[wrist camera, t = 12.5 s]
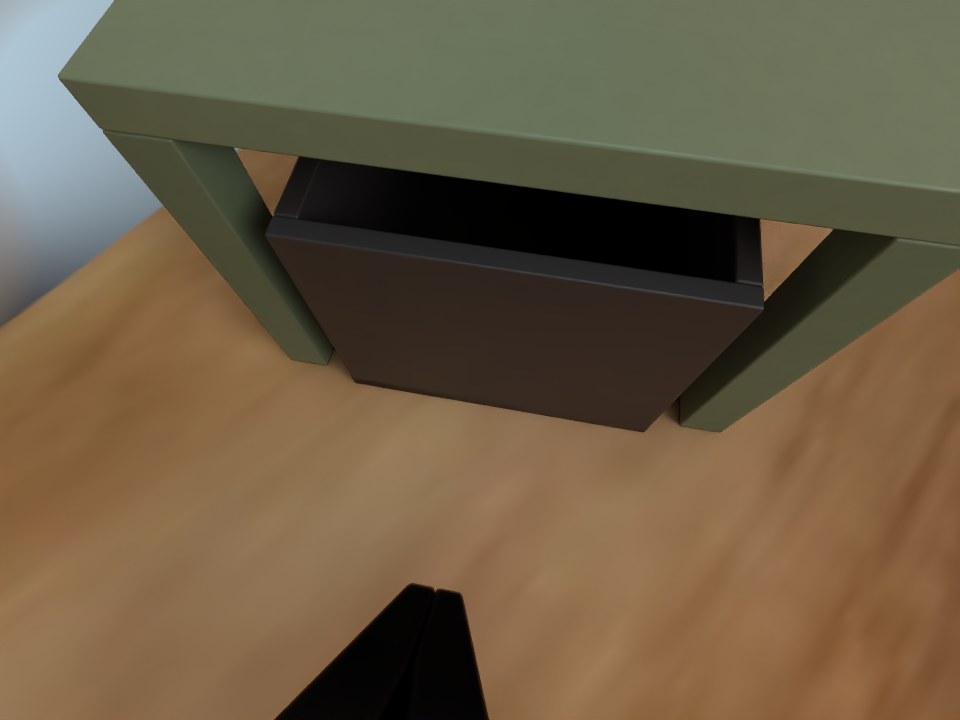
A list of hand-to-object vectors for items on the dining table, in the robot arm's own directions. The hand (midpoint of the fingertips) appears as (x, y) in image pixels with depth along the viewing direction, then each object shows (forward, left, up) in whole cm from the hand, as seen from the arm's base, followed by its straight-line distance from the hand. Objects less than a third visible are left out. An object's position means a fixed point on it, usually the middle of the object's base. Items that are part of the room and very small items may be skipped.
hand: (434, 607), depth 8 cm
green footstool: (+6, +13, -9) cm, 17 cm away
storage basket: (+5, +12, -9) cm, 16 cm away
